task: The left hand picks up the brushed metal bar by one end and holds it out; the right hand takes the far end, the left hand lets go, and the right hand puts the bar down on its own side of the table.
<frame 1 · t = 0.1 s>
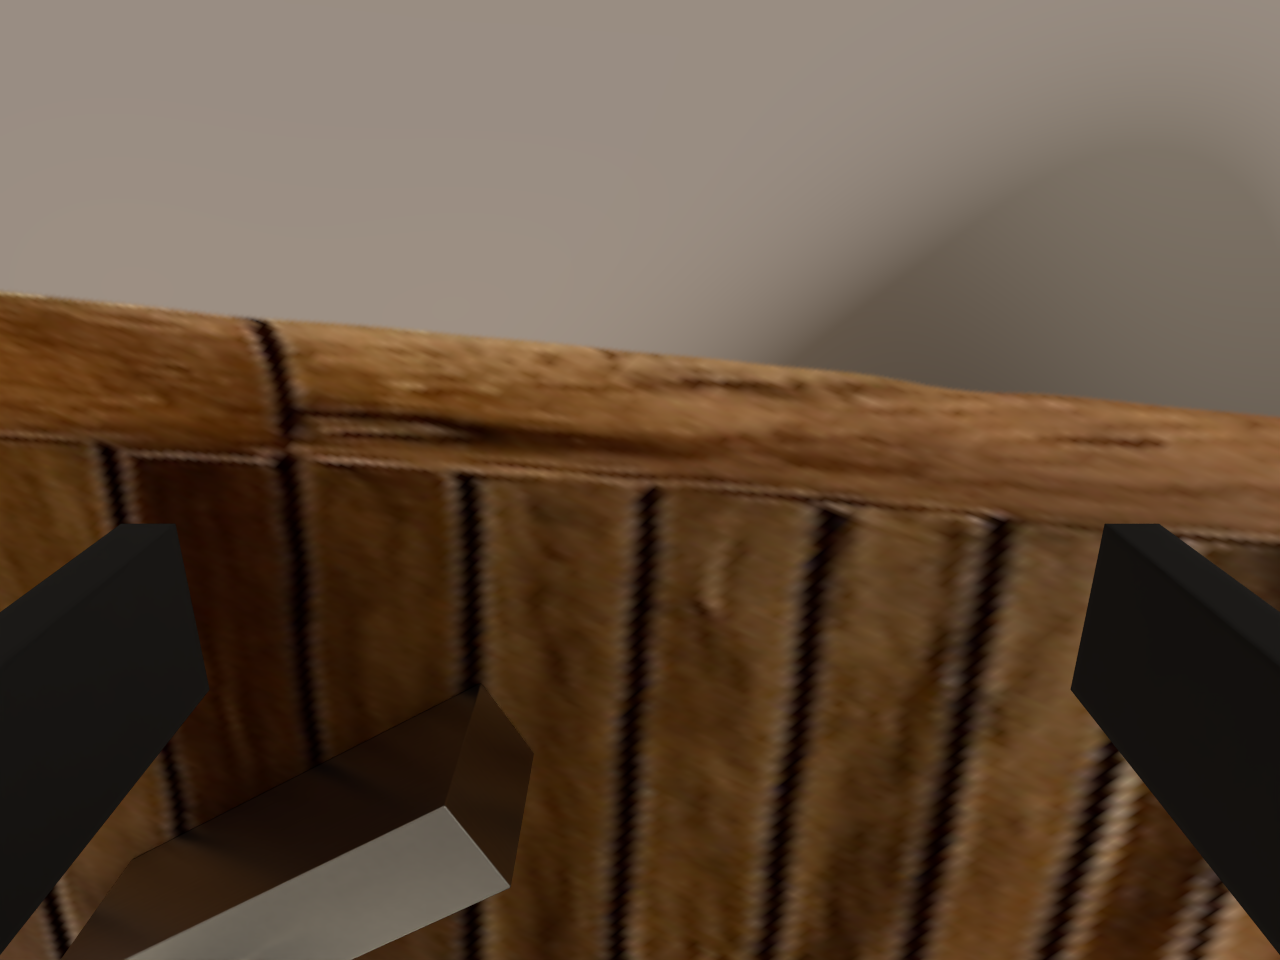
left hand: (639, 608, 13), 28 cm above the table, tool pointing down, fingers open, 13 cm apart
bar: (327, 808, 49), on the table
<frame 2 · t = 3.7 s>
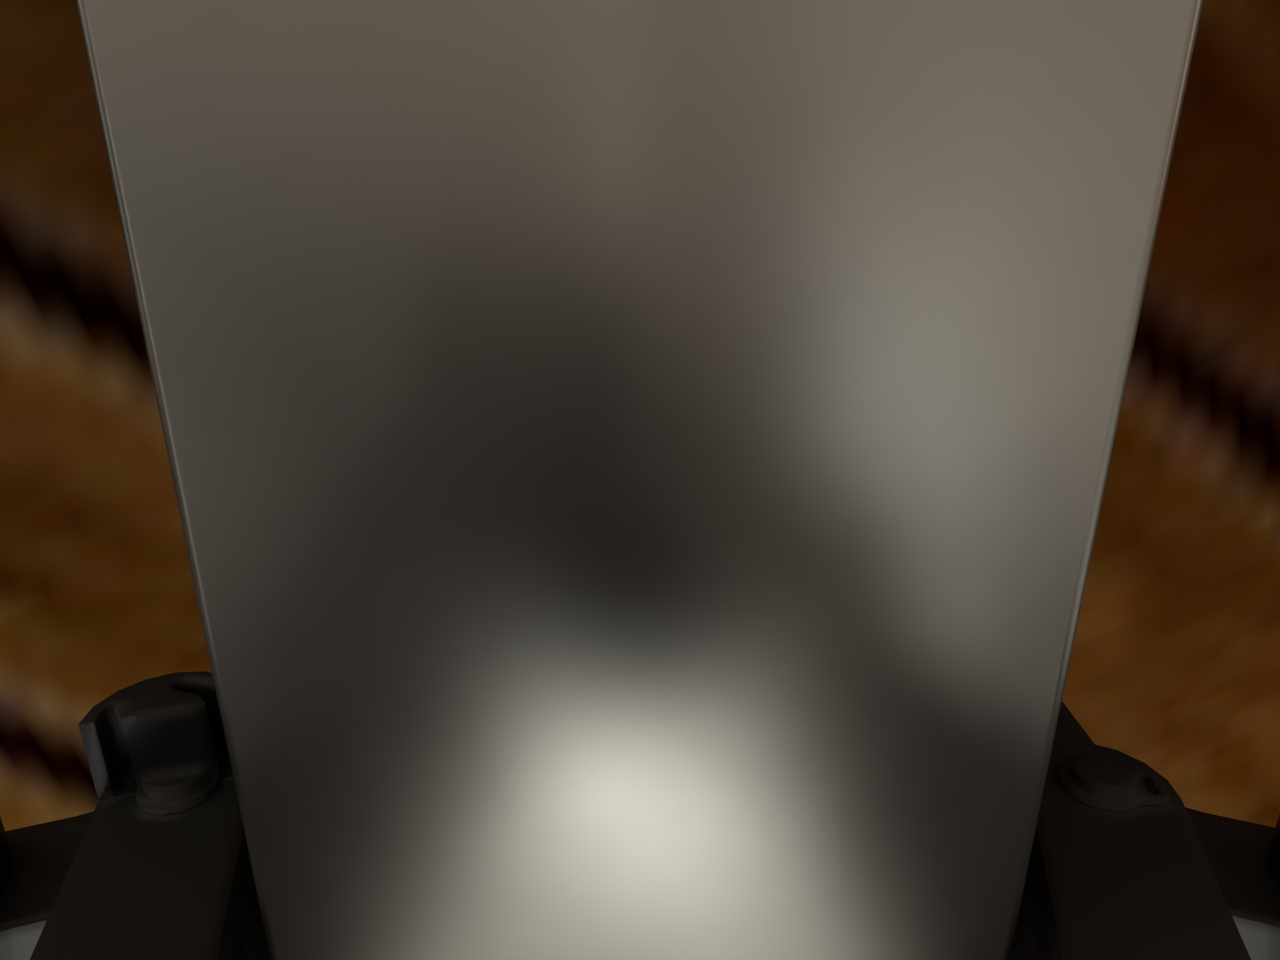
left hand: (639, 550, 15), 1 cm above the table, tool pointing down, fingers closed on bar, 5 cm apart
bar: (639, 29, 12), on the table, touching left hand
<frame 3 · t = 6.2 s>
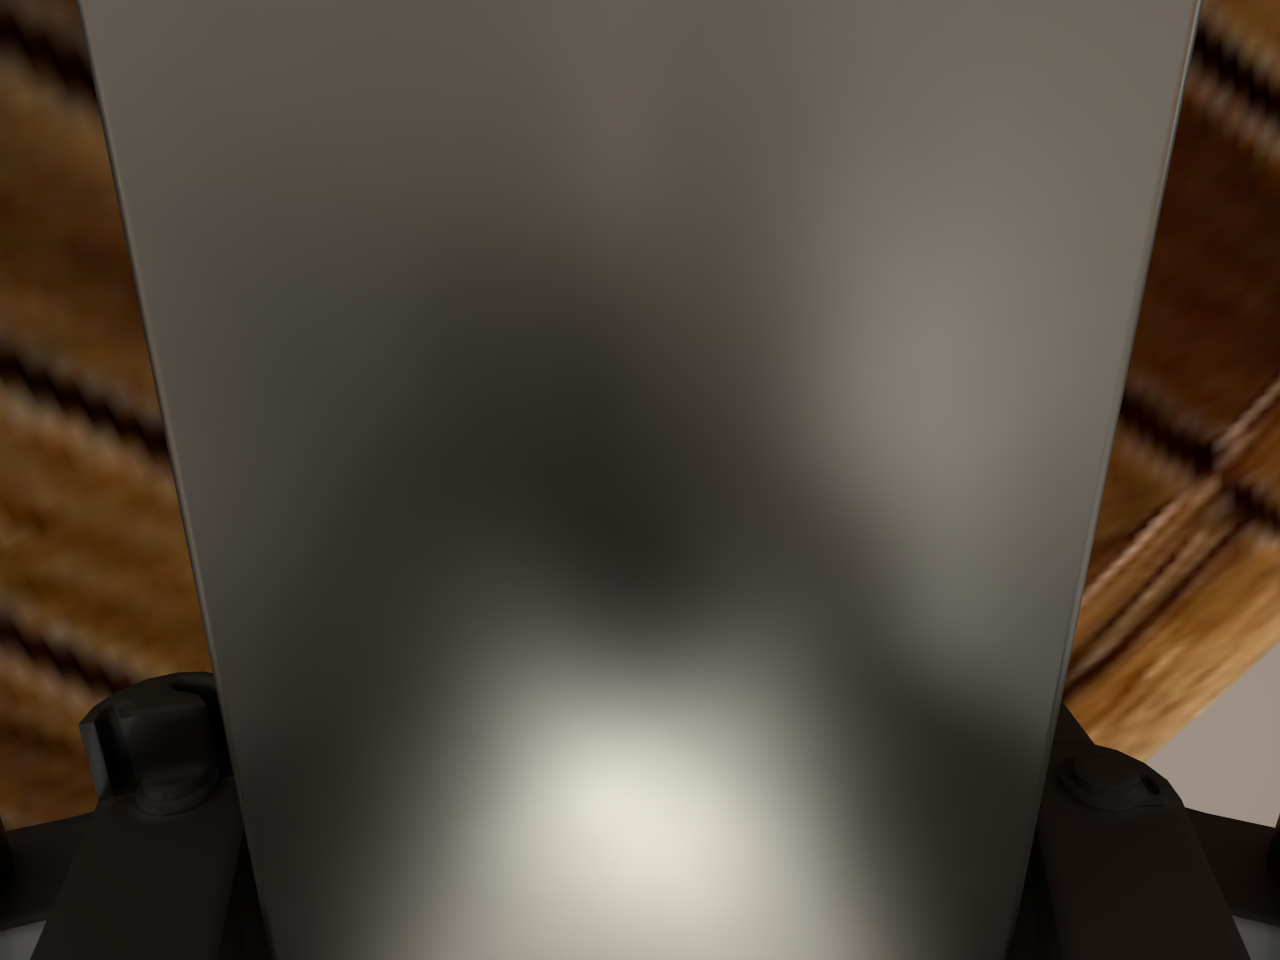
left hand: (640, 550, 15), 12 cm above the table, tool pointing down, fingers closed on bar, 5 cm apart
bar: (639, 29, 12), point 12 cm above the table, touching left hand
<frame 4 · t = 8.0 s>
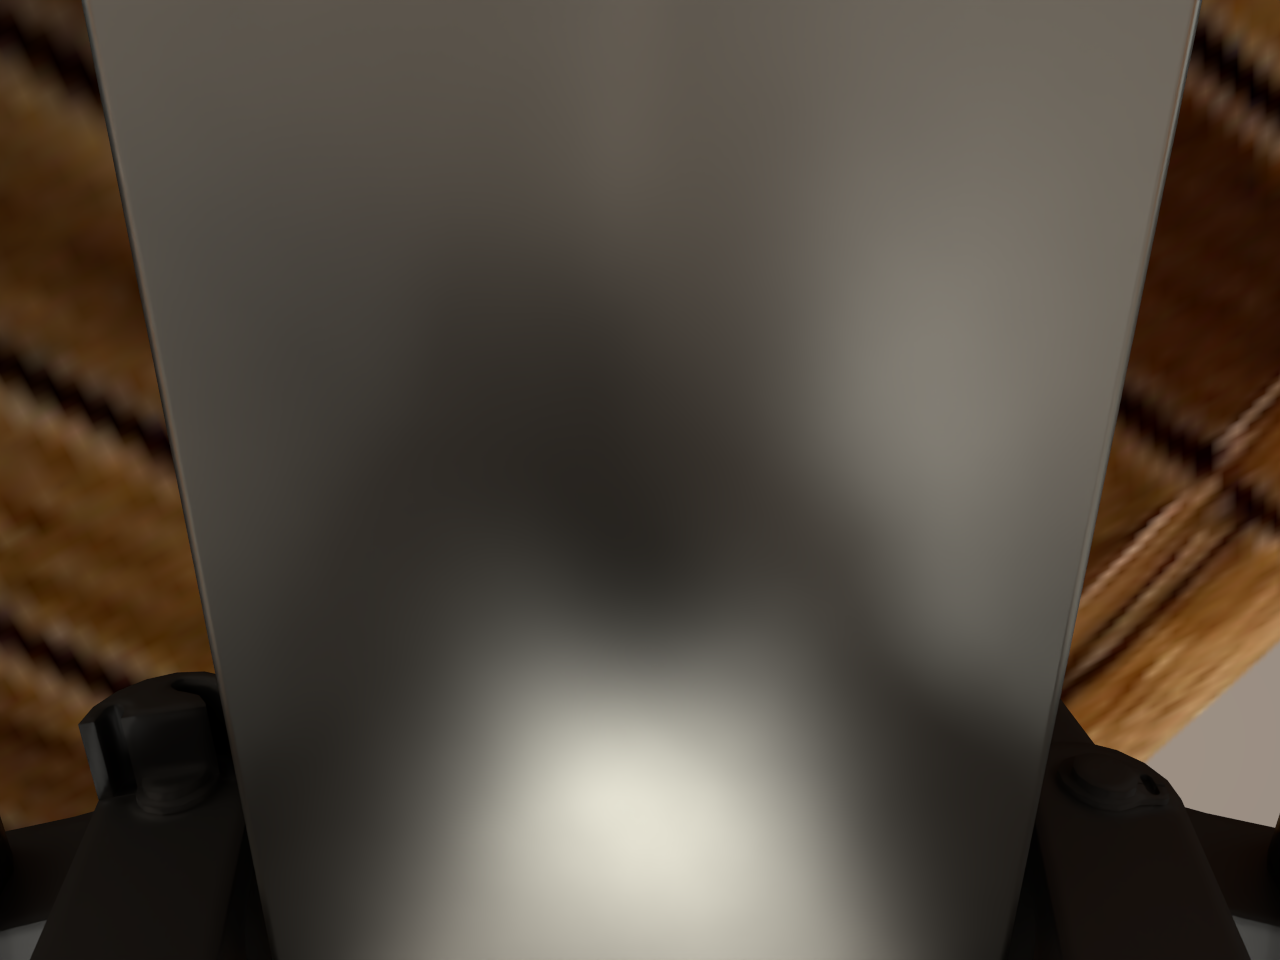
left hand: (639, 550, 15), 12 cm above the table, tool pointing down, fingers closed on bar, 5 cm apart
bar: (640, 29, 12), point 12 cm above the table, touching left hand, right hand
when the left hand's fingers open (12 cm above the table, at t = 8.9 s): bar stays where it is, held by the right hand.
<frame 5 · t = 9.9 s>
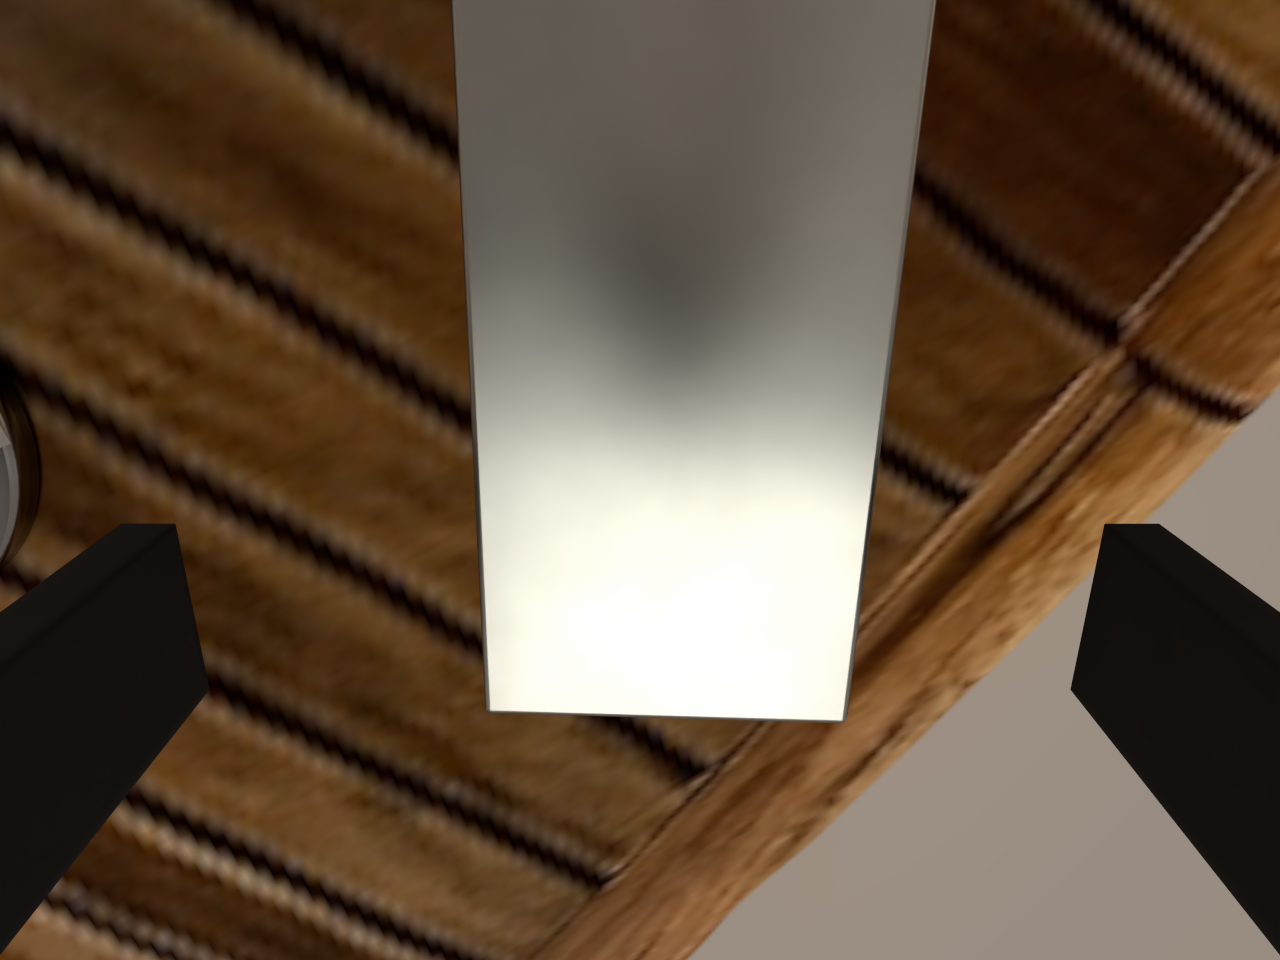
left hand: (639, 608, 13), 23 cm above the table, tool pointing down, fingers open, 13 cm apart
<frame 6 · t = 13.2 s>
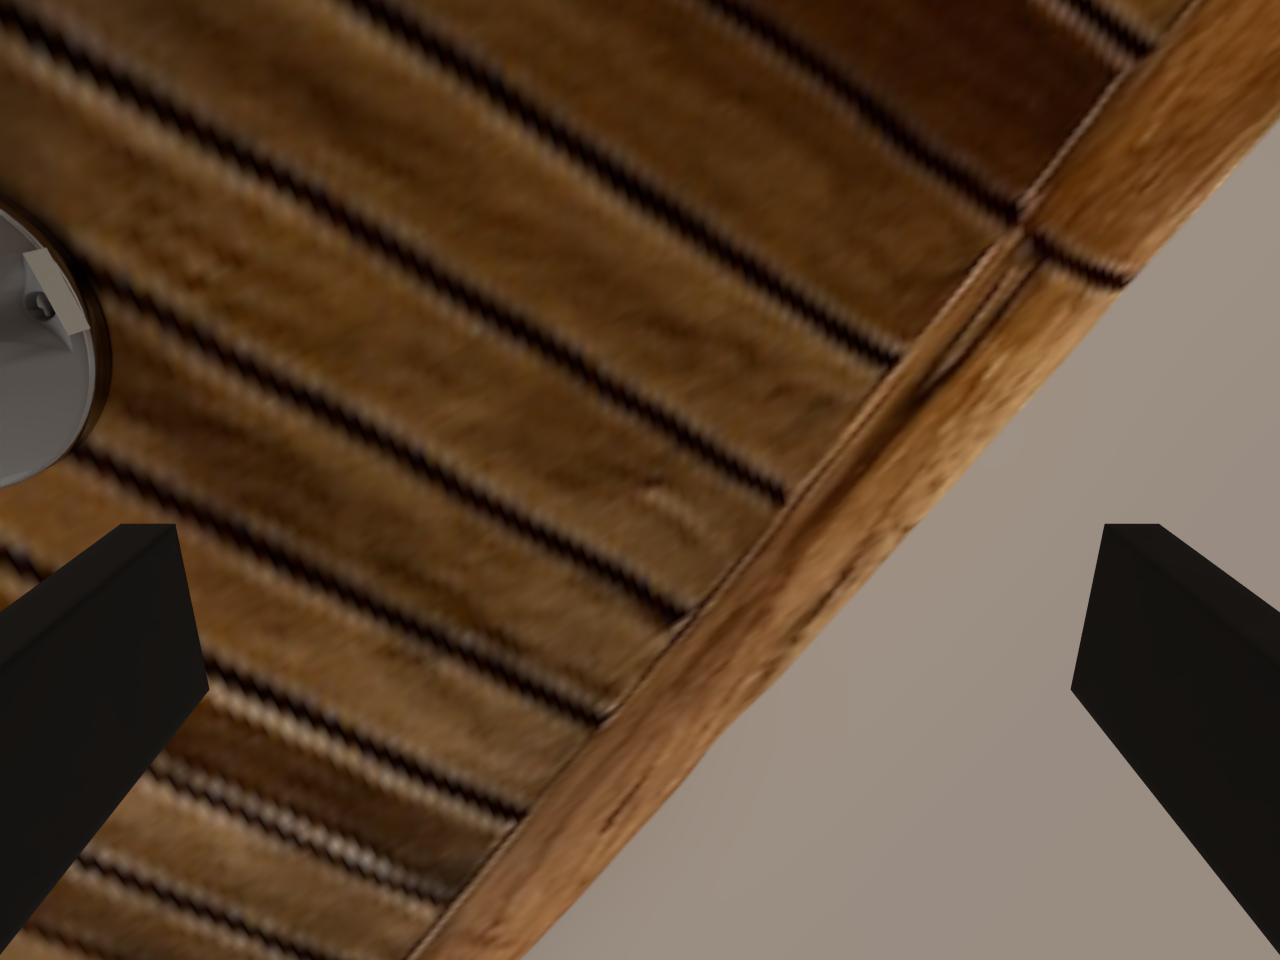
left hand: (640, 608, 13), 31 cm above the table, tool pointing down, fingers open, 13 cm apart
when the right hand's fingers open (4 cm above the table, at t = 18.4 s): bar stays where it is, on the table.
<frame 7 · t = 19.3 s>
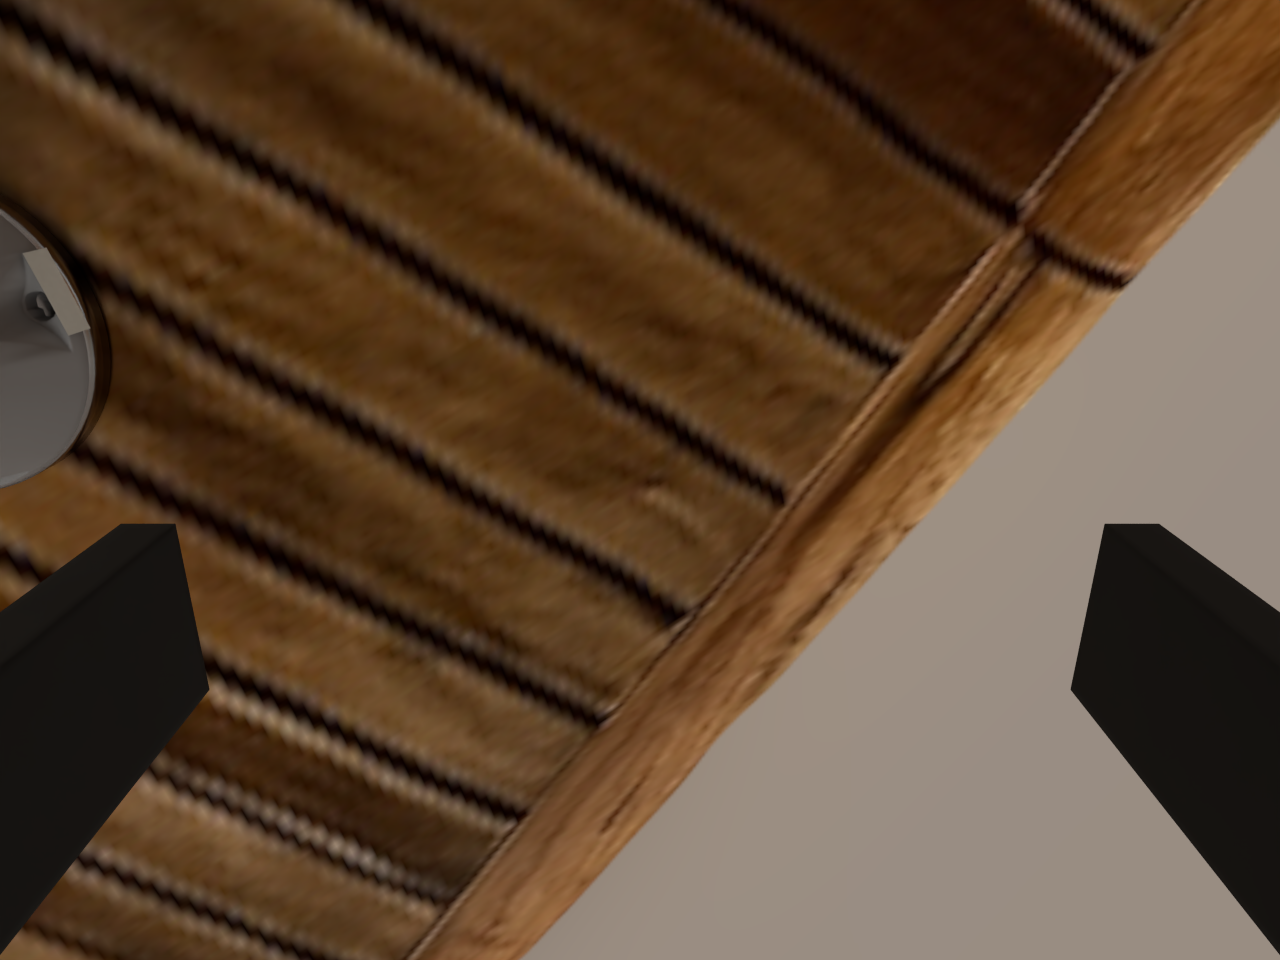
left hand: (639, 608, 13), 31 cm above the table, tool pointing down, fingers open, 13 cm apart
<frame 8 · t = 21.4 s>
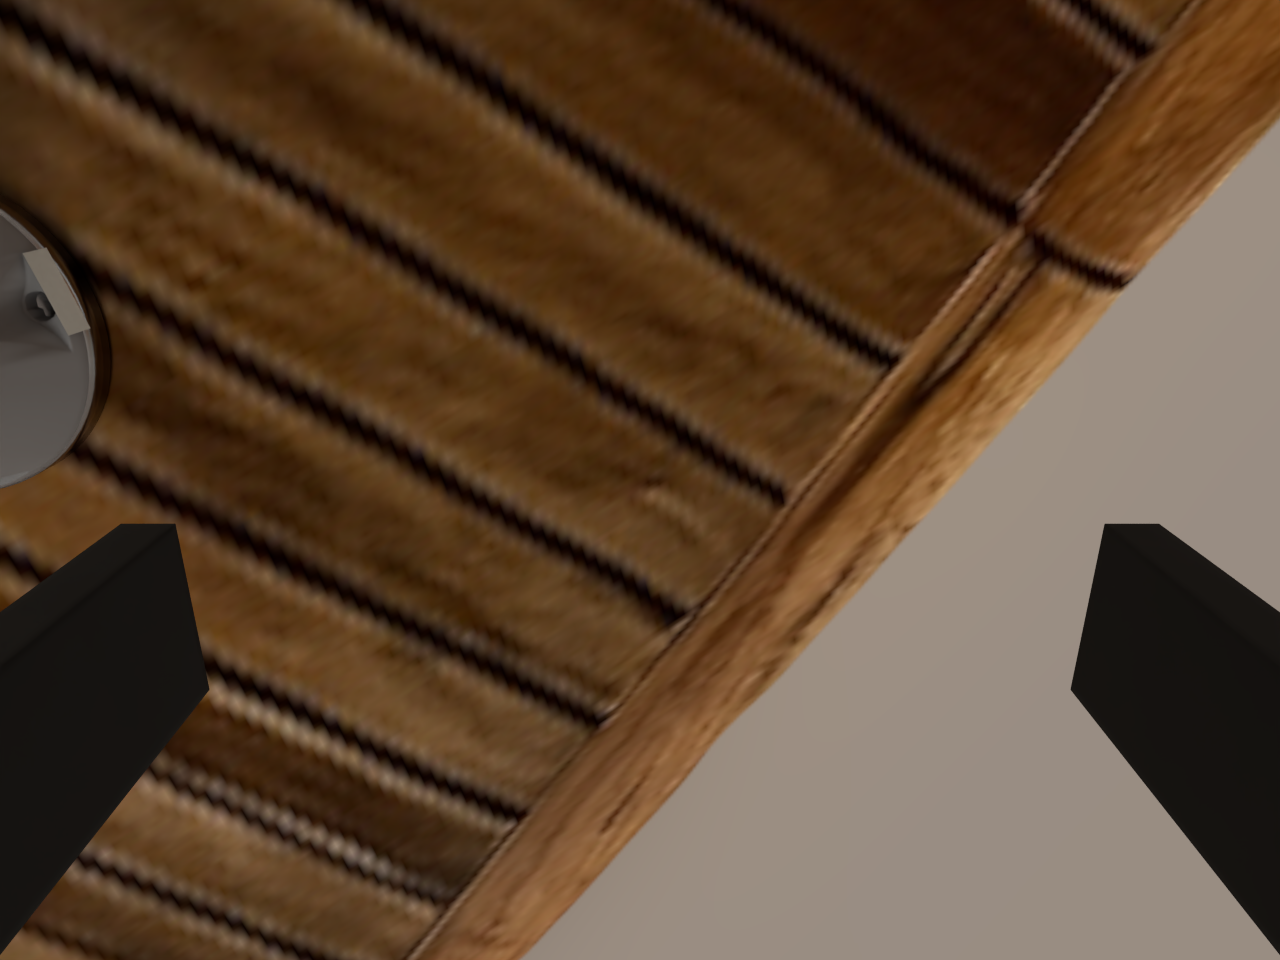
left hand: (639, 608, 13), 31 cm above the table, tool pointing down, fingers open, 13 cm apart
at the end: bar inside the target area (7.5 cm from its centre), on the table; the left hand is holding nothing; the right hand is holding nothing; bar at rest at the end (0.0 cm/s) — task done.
